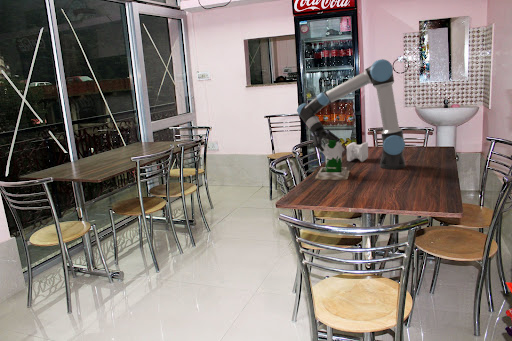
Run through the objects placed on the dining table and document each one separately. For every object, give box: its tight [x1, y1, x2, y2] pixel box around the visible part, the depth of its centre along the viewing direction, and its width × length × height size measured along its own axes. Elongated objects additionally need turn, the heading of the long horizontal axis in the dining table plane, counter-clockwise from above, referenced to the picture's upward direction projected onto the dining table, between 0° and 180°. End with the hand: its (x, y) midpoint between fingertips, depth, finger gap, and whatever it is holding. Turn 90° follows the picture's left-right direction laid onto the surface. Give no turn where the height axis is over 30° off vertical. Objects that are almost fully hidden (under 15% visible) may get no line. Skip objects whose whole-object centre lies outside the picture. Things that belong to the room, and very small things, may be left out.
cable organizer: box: [346, 141, 369, 163], centre depth 290 cm, size 15×11×12 cm
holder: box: [314, 166, 350, 181], centre depth 252 cm, size 18×18×4 cm
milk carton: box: [324, 140, 343, 173], centre depth 250 cm, size 9×9×20 cm
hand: (335, 153), depth 247 cm, fingers open, 13 cm apart
